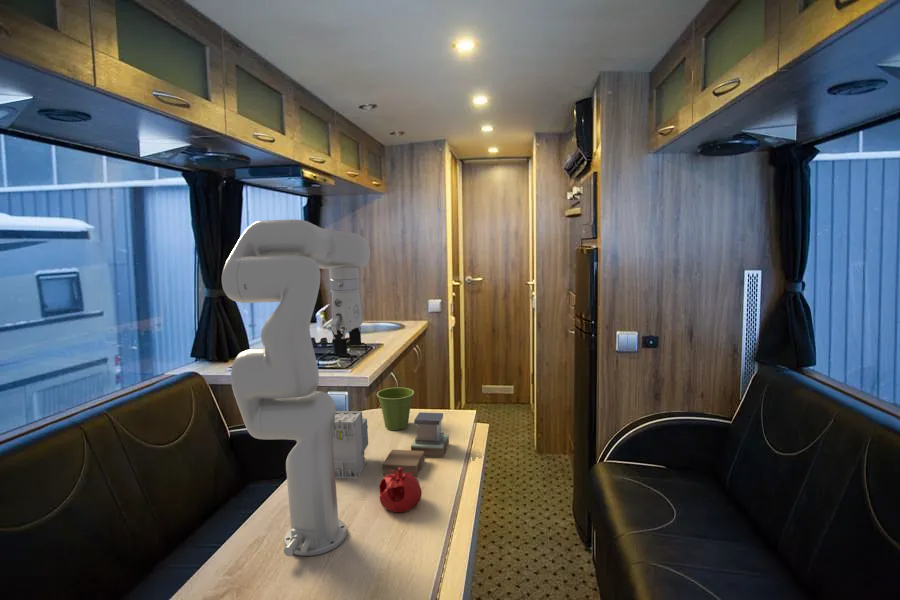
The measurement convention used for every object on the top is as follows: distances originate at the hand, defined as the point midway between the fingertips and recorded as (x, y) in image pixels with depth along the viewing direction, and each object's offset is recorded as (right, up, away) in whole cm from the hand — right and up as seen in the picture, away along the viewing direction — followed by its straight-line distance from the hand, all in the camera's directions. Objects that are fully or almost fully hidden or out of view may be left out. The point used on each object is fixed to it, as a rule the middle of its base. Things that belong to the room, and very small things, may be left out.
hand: (348, 349), depth 142 cm
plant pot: (+10, -28, +29) cm, 41 cm away
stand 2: (+21, -30, +10) cm, 38 cm away
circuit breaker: (0, -32, +2) cm, 32 cm away
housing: (+21, -27, +10) cm, 35 cm away
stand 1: (+15, -31, 0) cm, 35 cm away
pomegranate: (+16, -34, -19) cm, 42 cm away
